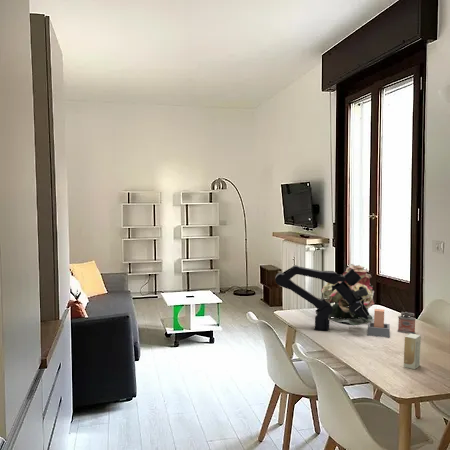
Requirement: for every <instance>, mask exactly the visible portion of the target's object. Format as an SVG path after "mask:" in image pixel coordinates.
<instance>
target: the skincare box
mask: <svg viewBox="0 0 450 450" xmlns="http://www.w3.org/2000/svg"><path fill="white" fill-rule="evenodd" d="M421 337H422V336H421V334H416V333H415V334H411V333H410V334H408V333H407V335H405V336H404V348H403V349H404V351H403V367H404V368H407V369H411V370H416V369H417V368H418V367H420V364H421V342H422V341H421V339H422V338H421Z"/></svg>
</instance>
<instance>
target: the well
mask: <svg viewBox="0 0 450 450" xmlns="http://www.w3.org/2000/svg"><path fill="white" fill-rule="evenodd" d="M367 323H368V324H367V329H366V330H367V334H366V336H370V337H380V338H381V337H382V338H390V331H391V330H390V327H391V326H390V323H384V328H378V327H374V322H372V321H367Z"/></svg>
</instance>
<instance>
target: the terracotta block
mask: <svg viewBox="0 0 450 450" xmlns="http://www.w3.org/2000/svg"><path fill="white" fill-rule="evenodd" d="M373 313H374V314H373V315H374V317H373V319H374V320H373V321H374V322H373V323H374V327H378V328H384V324H385V309H381V308H378V309H377V308H374V312H373Z"/></svg>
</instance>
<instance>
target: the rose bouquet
mask: <svg viewBox="0 0 450 450" xmlns="http://www.w3.org/2000/svg"><path fill="white" fill-rule="evenodd" d="M350 269H353V270H354V271H355V272H356V273H357V274H358V275H359V276H360V277H361V278H362V279H361V280H360V281H358V282H357V283H356V284H355V285H354V286H353V285H352V286H350V285H349V284H348V283H347V282H346V281H344V282H345V283H346V284H347V285H348V286H349V287H350V288H351V290H354V291H357V290H359V287H361V286H363V287H364V288H366V289H367V291H368V295H366V296H362V297H363V299H364V305H365V307H366V309H367V311H368V312H369V308H371V307H372V306H374V305H375V301H374V293H375V290H374V289H373V287H374V285H371V282H370V281H371V280H370V279H371V278H373V277H372V275H371V274H369V273H368V272H367V271H368V269H367V268H365V266H363V265H360V264H358V265H355V264H354V263H350V264H349V265H348V266H347V267H346V269H345V271H344V272H343V273H342V274H341V275H345V274H346V273H348V272H349V270H350ZM341 282H342V281H340V282H339V283H341ZM337 283H338V282H337ZM332 285H333V286H334V285H335V284H330V283H328V282H326V284H325V285H323V286H322V289H321V290H320V292H321V293H322V297H323V298H324V299H326V300H328V301H329V302H330V304H332V305H331V306H332V308H333V311H332V313H331V314H330V315H329V316H328V317H330V318H329V319H330V320H331V319H332V321H334V322H337V323H342V322H343V323H347V324H349V325H351V326H358V325H362V324H365V323H366V324H367V323H368V322H372V321H374V318H373V316H372V315H371V314H370V313H369V315H367V316H368V318H369V319H365V318H363V317H361V316H359V315H356V314H354V313H353V312H352V313H351V312H350V310H349V304H348V303H347V301H346V300H344V299H343V297H342V296H341V295H340V294H339V293H338V291H337V290H336V289H335V290H334V291H332ZM363 299H362V300H363ZM362 300H361V301H362ZM333 303H334V304H333ZM331 317H341V319H339V318H331ZM343 318H345V319H343ZM346 318H348V319H346ZM357 318H358V319H357Z"/></svg>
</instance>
